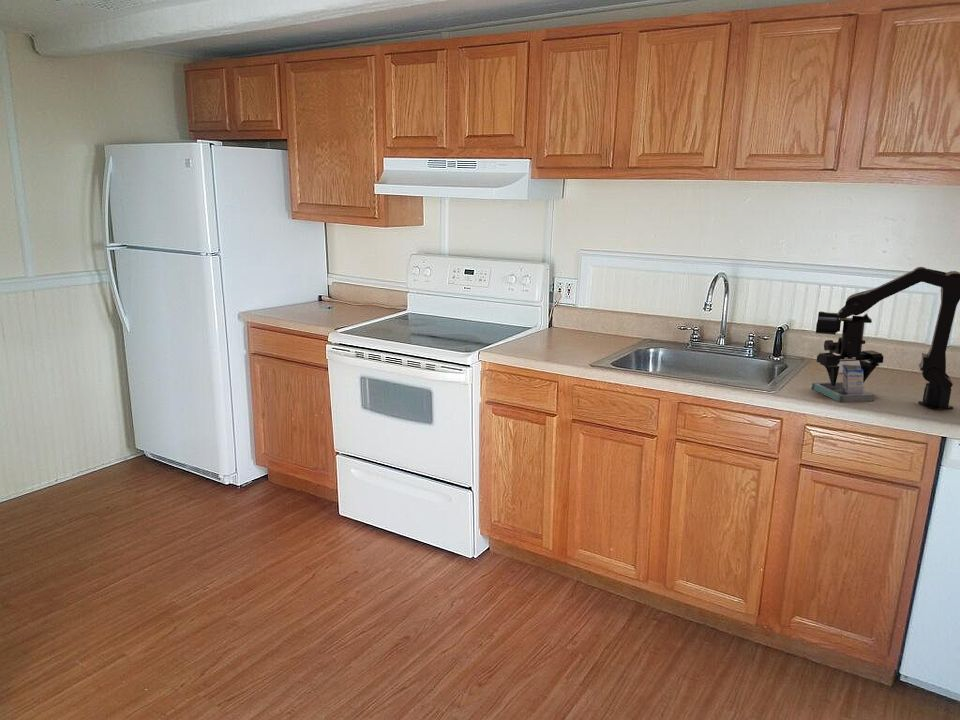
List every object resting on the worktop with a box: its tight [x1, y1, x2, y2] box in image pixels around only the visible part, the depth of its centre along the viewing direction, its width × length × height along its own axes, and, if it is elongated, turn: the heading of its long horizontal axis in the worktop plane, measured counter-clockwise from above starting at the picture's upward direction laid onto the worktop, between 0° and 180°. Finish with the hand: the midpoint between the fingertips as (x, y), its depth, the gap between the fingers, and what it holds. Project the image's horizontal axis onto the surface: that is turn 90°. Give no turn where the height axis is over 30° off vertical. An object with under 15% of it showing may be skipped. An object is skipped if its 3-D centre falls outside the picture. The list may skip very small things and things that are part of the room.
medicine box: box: [842, 364, 865, 395], centre depth 221 cm, size 8×4×9 cm, turn 165°
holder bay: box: [811, 381, 875, 403], centre depth 221 cm, size 14×11×2 cm
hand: (847, 384), depth 221 cm, fingers open, 9 cm apart
